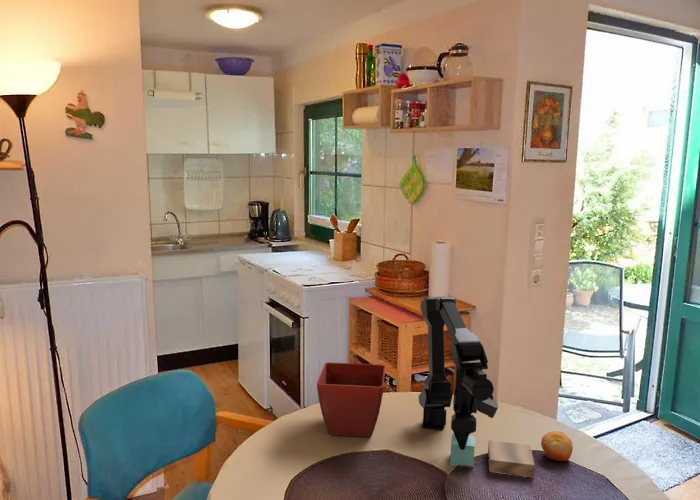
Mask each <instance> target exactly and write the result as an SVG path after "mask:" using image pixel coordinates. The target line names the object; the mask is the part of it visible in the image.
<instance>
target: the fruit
mask: <svg viewBox="0 0 700 500" xmlns="http://www.w3.org/2000/svg"><path fill="white" fill-rule="evenodd" d="M540 445H541V449H542V450H543V452H544V454H545V457H546V458H547V459H548V458H549V459H548V460H550V459H551V461H554V460H556V462H567V461H569V460H570V459H571V456H572V453H573V449H574V447H573V446H574V445H573V442H572V439H571V438H570V437H569V436H568V435H567V434H565V433H564V432H562V431H556V430H554V431H550V432H549V431H548V432H547V433H546V434H544V435H543V436H542V438H541V442H540Z"/></svg>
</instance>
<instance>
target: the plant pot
mask: <svg viewBox="0 0 700 500" xmlns="http://www.w3.org/2000/svg"><path fill="white" fill-rule="evenodd" d="M386 367H387V366H386V365H384V364H376V363H375V364H373V363H354V362H351V363H350V362H325V363H324V365H323V366H322V370H321V373H320V375H319V376H318V379H317V381H316V389H317V395H318V403H319V407H320V410H321V411H320V412H321V415H322V418H323V421H324V425H325V428H326V430H327V434H328V435H330V436H331V435H332V436H343V437H344V436H346V437H358V438H359V437H360V438H370V437H372V436H373V433H374V431H375V428H376V425H377V422H378V418H379V415H380V411H381V410H380V409H381V405H382V400H383V395H384V387H385V374H386Z"/></svg>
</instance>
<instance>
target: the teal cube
mask: <svg viewBox="0 0 700 500" xmlns="http://www.w3.org/2000/svg"><path fill="white" fill-rule="evenodd" d="M474 463H475V436H474V435H469V437H468V440H467V443H466V446H465V450H461V449H460V447H459V445H458V442H457V440H456V437H455V435H454V433H451V442H450V463H449V465H451V466H456V467H459V466H458V465H471V466H473V467H474Z"/></svg>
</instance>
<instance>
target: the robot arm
mask: <svg viewBox="0 0 700 500" xmlns="http://www.w3.org/2000/svg"><path fill="white" fill-rule="evenodd" d="M420 311H421V316H422V319H423V321H424V322H425V324H426V325H427V340H428V341H427V342H428V343H427V345H428V346H427V347H428V348H427V349H428V352H427V353H428V375H427V376H426V377H425V379H424V381H423V389H422V390H421V392H420V394H419V395H418V404H419V405H420V407H422V411H423V414H422V416H423V417H422V424H421V427H422V428H425V429H434V430H442V431H443V430H445V427H446V425H447V412H448V411H447V409H445V408H450V407H451V404H452V403H453V406H452V407H453V408H452V409H453V412H454V413H453V415H451V422H450V429H451V430H452V434H454V435H455V437H456V440H457V442H458V445H459V447H460V449H461V450H465V446H466V443H467V440H468V437H469V436H470V434H473V433H475V432H476V431H477V418H476V417H475V415H474V414H477V412H479V413H481V414H483V415H485V416H487V417H488V418H490V419H494V417H495V415H496V413H497V410H498V408H499V403H498V401H497V399H494V385H493V383H492V381H491V380H490V379H489V378H488V376H487V375H488V374H487V373H486V372H485V371H484V370H488V369H489V367H488V363H489V360H488V357H487V354H486V351H485V348H484V345H483V343H482V342H481V340H480V339H479V338H478V336H477V335H476V334H475V333H473V332H472V331H470V330H469V329H468V327H467V325H466V323H465V321H464V319H463V318H462V315H461V314H460V311H459V309H458V307H457V302H456V299H455V298H454V297H451V296H425V297H424V298H423V300H421V301H420ZM444 326H445V327H446V329H447V331H448V333H449V335H450V337H451V341H452V342H451V344H450V345H451V346H450V351H451V356H452V358H453V364H454V365H455V369H454V392H453V391H452V382H451V381H449V380H448V378H447V376H446V372H445V371H446V369H445V368H446V367H445V366H446V365H445V331H444ZM452 400H453V401H452Z"/></svg>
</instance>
